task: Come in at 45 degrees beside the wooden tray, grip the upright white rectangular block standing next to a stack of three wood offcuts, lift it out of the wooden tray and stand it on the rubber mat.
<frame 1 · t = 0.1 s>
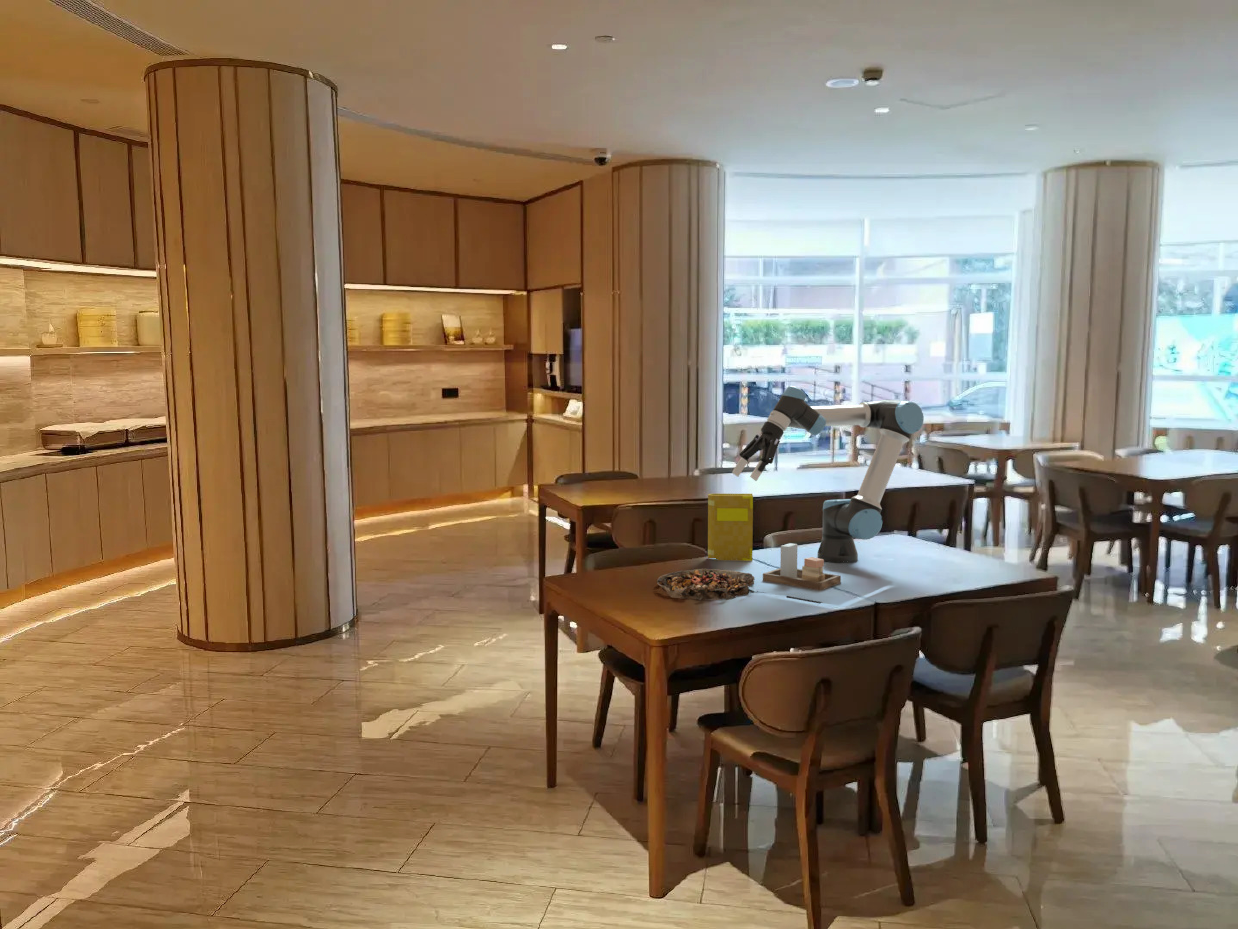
hand: (743, 476, 335), 36 cm above the table, tool tilted 35°, fingers open, 13 cm apart
food dish: (707, 590, 323), on the table
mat: (812, 596, 310), on the table
offcut b: (812, 574, 323), point 4 cm above the table, touching offcut a, offcut c
wooden tray: (801, 585, 327), on the table
white rectangular block: (788, 579, 330), point 1 cm above the table, touching wooden tray
offcut a: (813, 583, 324), point 1 cm above the table, touching offcut b, wooden tray
book: (729, 559, 370), on the table
offcut c: (814, 566, 323), point 7 cm above the table, touching offcut b
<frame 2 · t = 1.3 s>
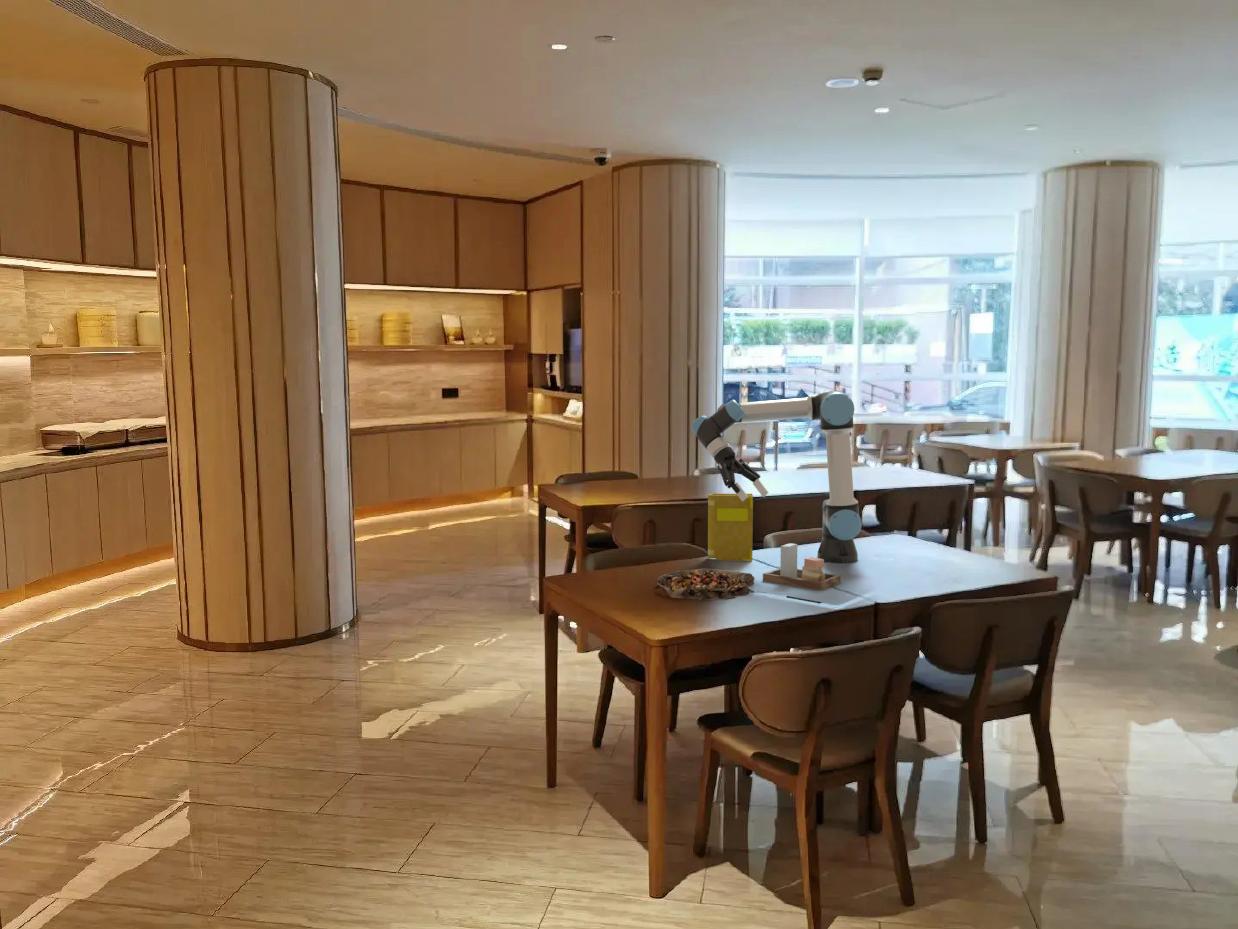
hand: (755, 497, 343), 28 cm above the table, tool tilted 45°, fingers open, 13 cm apart
nothing on the table moved.
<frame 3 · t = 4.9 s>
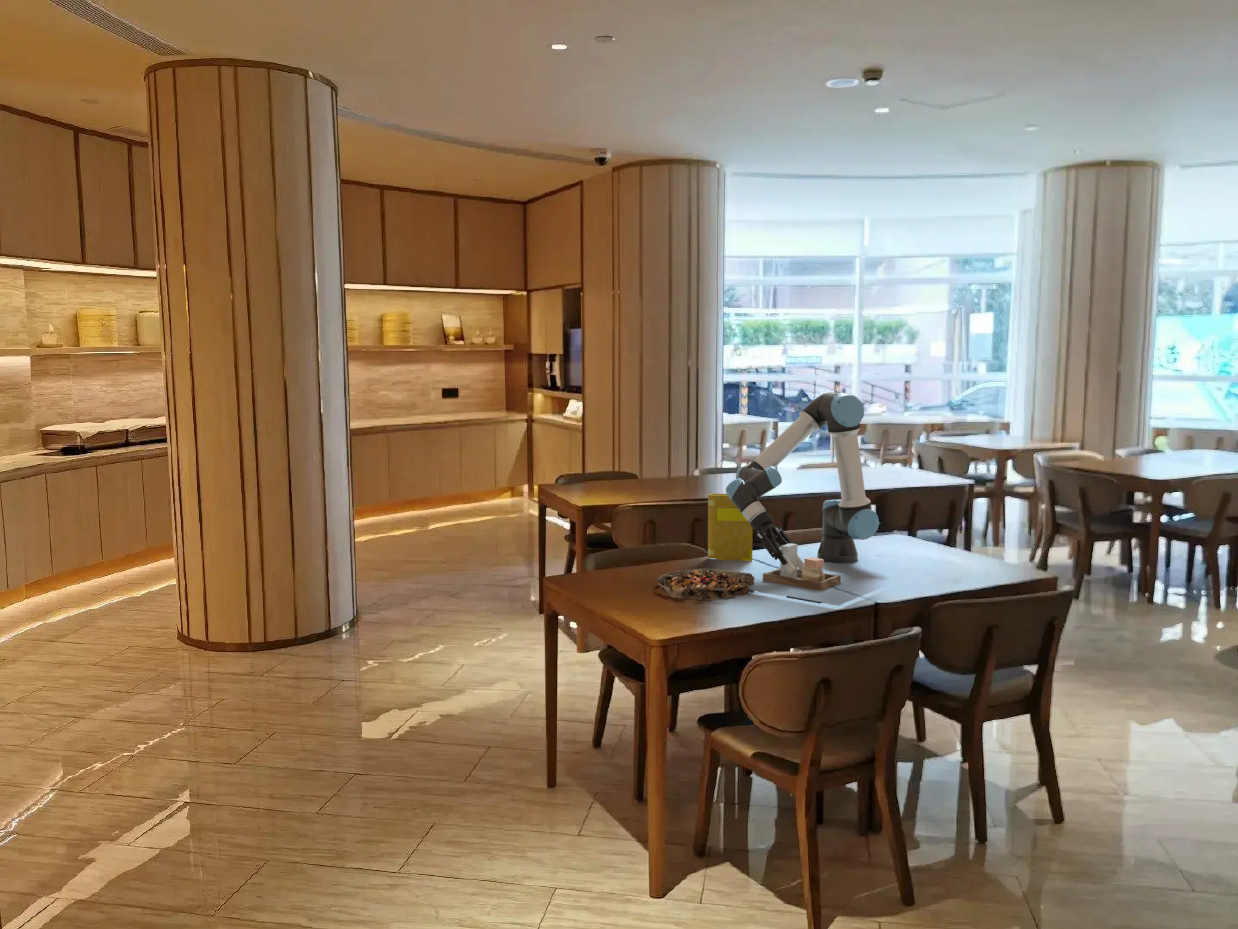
hand: (798, 569, 327), 5 cm above the table, tool tilted 45°, fingers closed on white rectangular block, 6 cm apart
white rectangular block: (788, 579, 330), point 1 cm above the table, touching gripper, wooden tray
everything else where it was.
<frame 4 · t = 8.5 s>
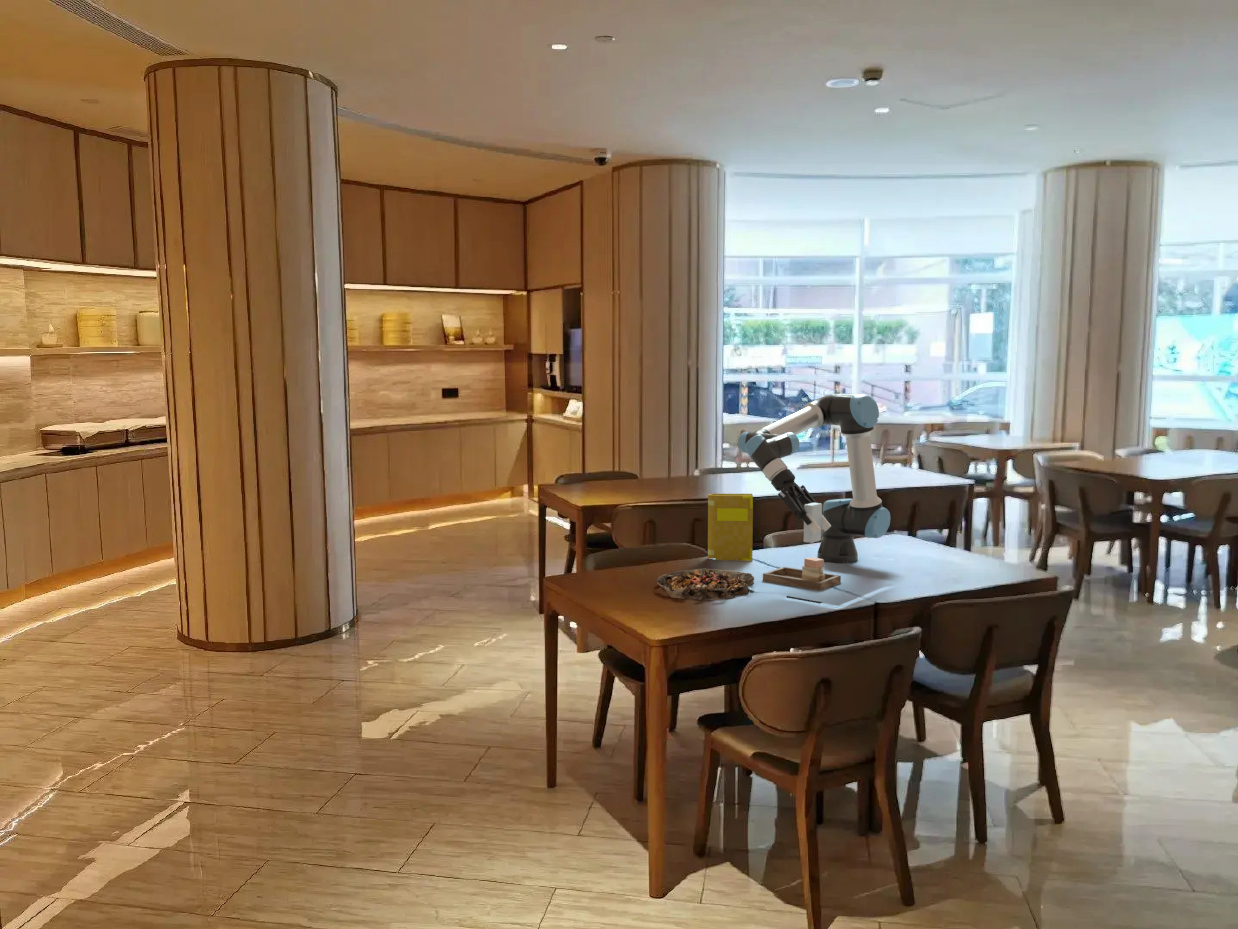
hand: (822, 530, 306), 22 cm above the table, tool tilted 45°, fingers closed on white rectangular block, 6 cm apart
white rectangular block: (812, 540, 309), point 18 cm above the table, touching gripper
everything else where it was.
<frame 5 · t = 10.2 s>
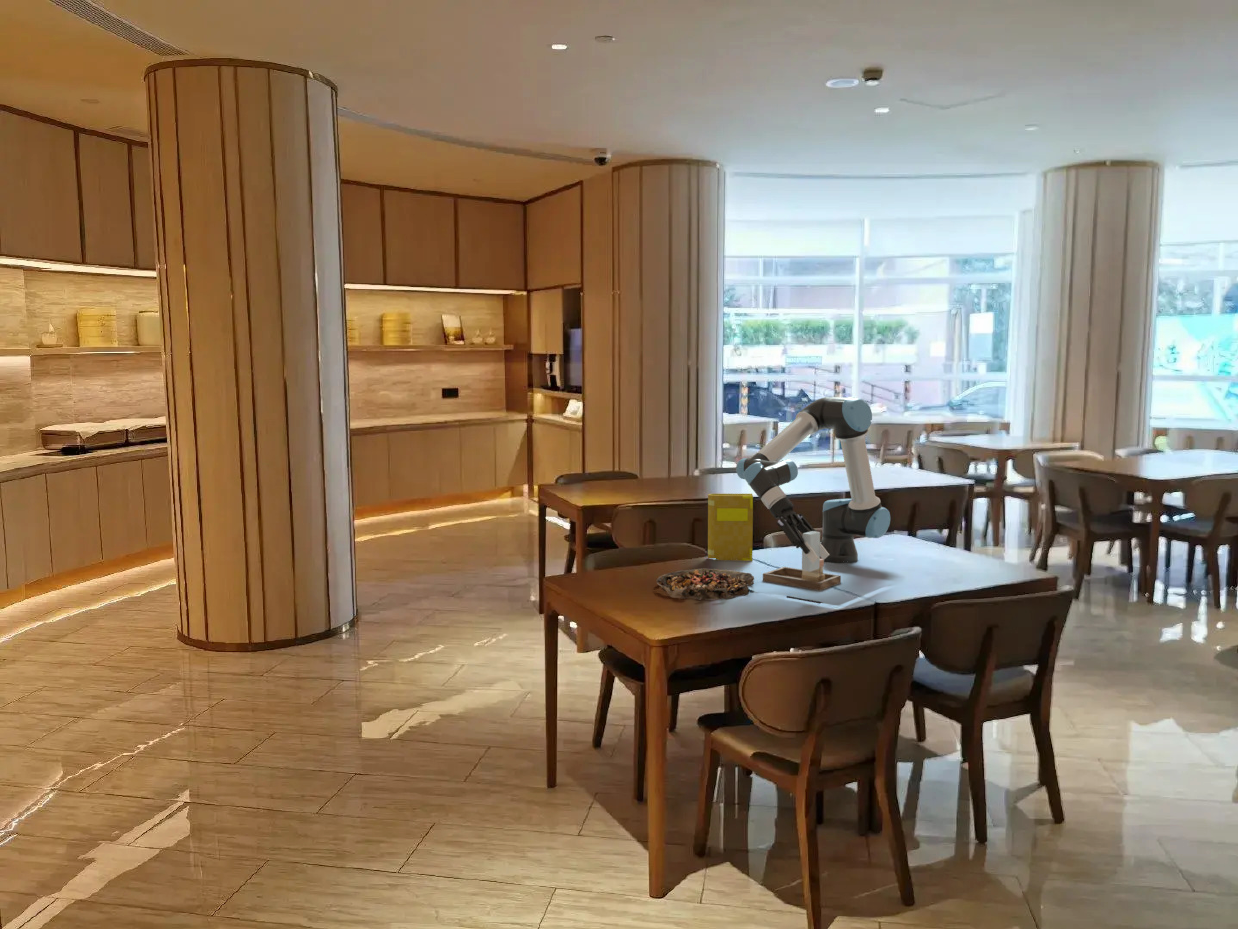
hand: (821, 558, 306), 13 cm above the table, tool tilted 45°, fingers closed on white rectangular block, 6 cm apart
white rectangular block: (810, 569, 309), point 9 cm above the table, touching gripper
everything else where it was.
when the fingers open (6 cm above the table, at t = 11.9 s): white rectangular block drops 1 cm, resting on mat.
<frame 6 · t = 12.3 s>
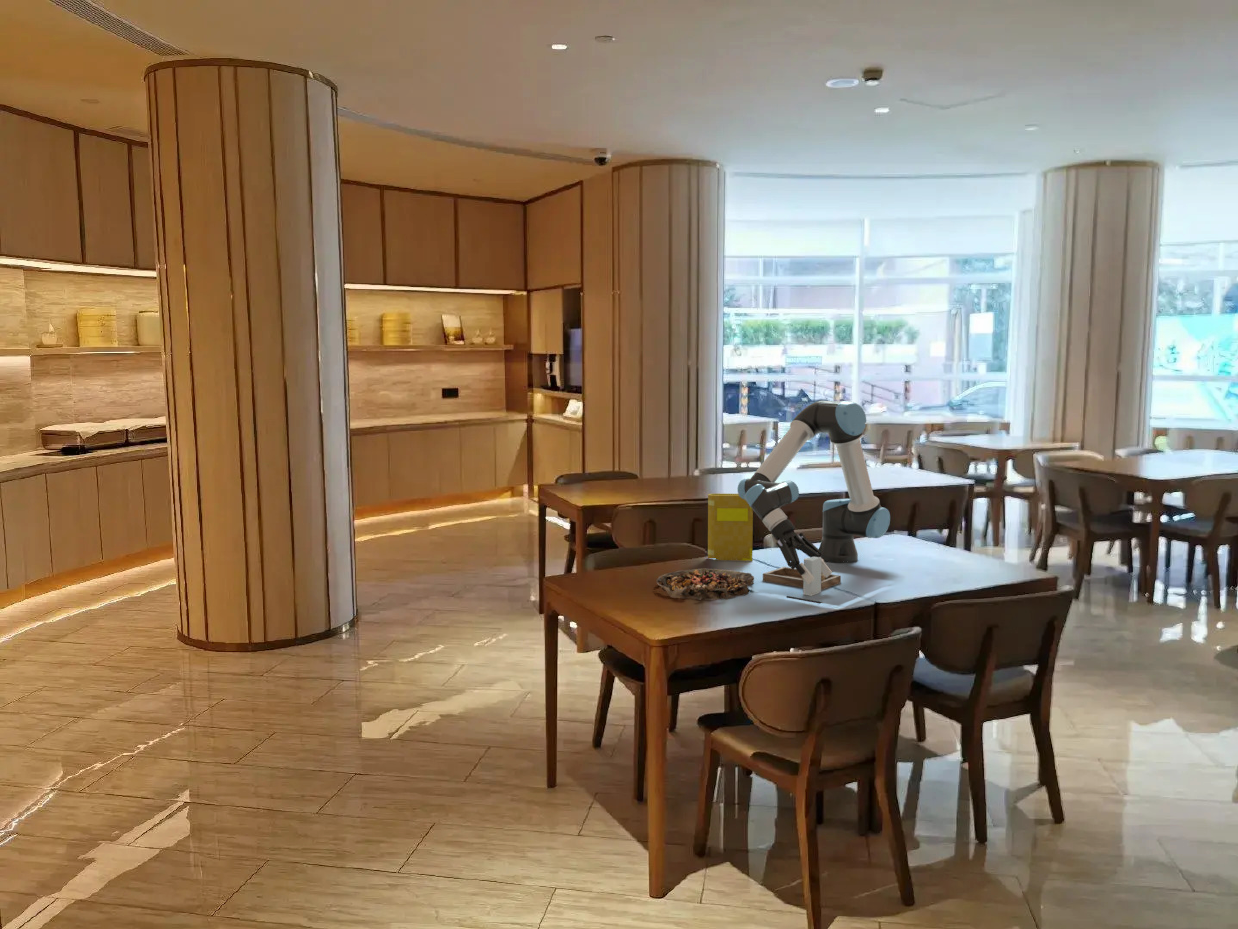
hand: (820, 578, 308), 7 cm above the table, tool tilted 45°, fingers open, 11 cm apart
white rectangular block: (812, 595, 311), point 1 cm above the table, touching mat
everything else where it was.
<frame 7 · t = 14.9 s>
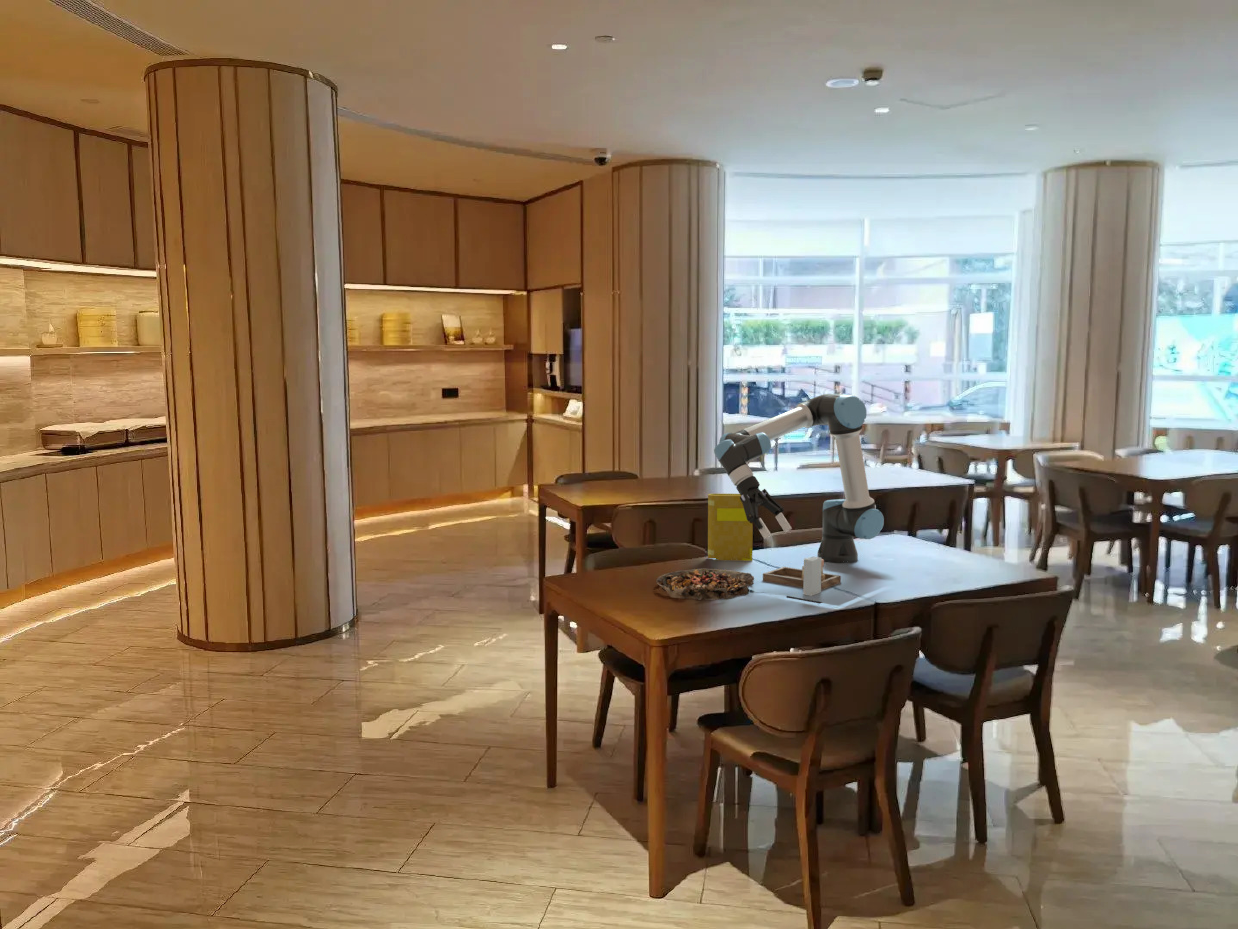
hand: (778, 533, 319), 19 cm above the table, tool tilted 40°, fingers open, 13 cm apart
nothing on the table moved.
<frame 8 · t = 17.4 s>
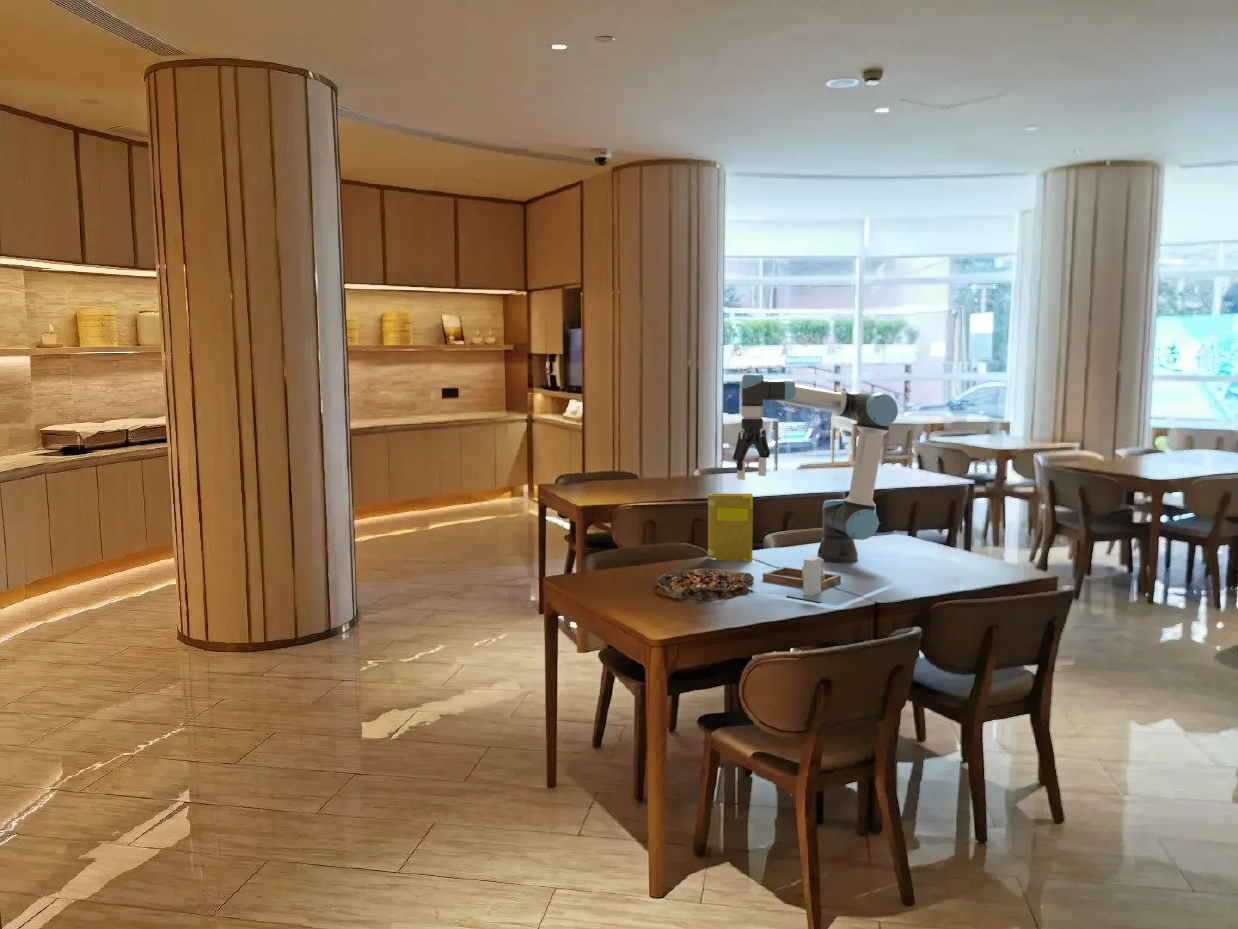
hand: (751, 477, 341), 35 cm above the table, tool pointing down, fingers open, 13 cm apart
nothing on the table moved.
at the end: white rectangular block inside the target area (0.1 cm from its centre), point 0.6 cm above the table; white rectangular block tilted 0°; the gripper is holding nothing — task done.
